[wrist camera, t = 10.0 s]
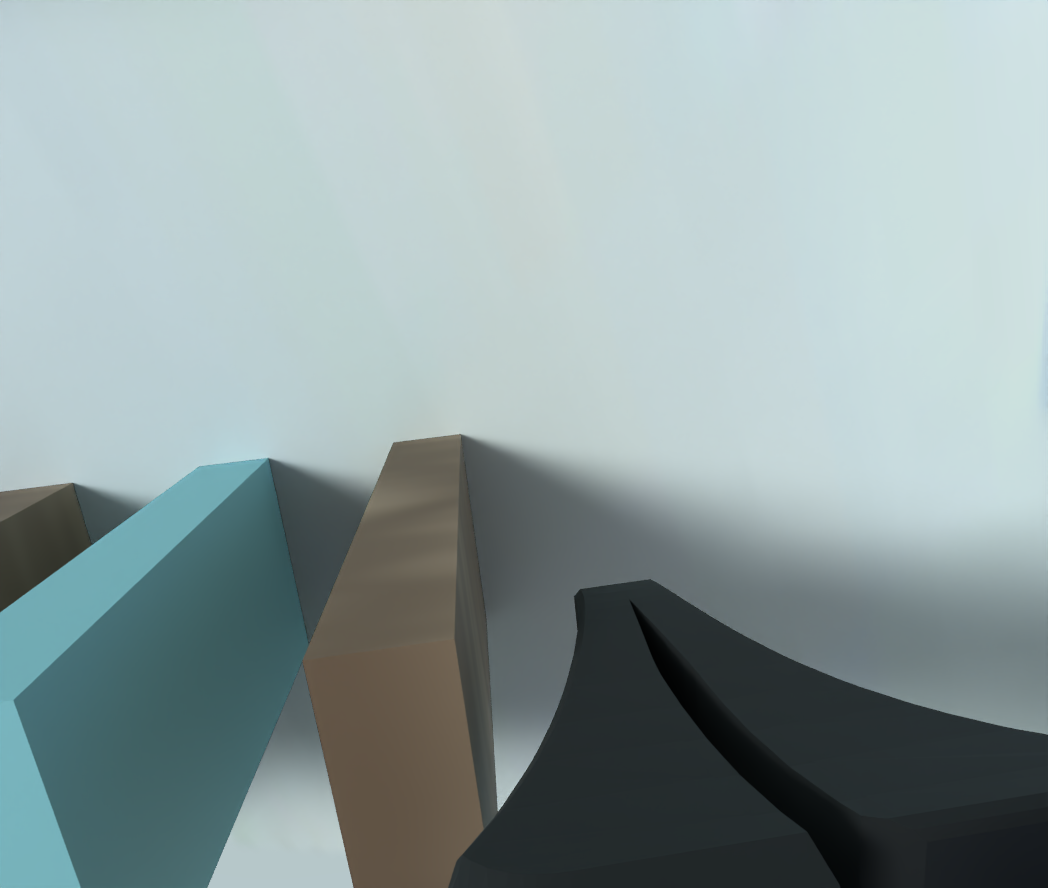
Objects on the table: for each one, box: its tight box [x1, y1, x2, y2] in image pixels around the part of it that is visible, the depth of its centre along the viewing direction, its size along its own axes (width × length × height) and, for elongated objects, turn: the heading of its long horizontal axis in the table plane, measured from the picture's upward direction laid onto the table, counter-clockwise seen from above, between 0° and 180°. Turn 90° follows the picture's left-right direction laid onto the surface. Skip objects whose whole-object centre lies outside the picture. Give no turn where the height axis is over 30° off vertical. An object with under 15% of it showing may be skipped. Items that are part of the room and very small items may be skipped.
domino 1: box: [0, 458, 309, 888], centre depth 12 cm, size 2×5×9 cm, turn 7°
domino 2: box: [302, 434, 498, 888], centre depth 12 cm, size 2×5×9 cm, turn 7°
